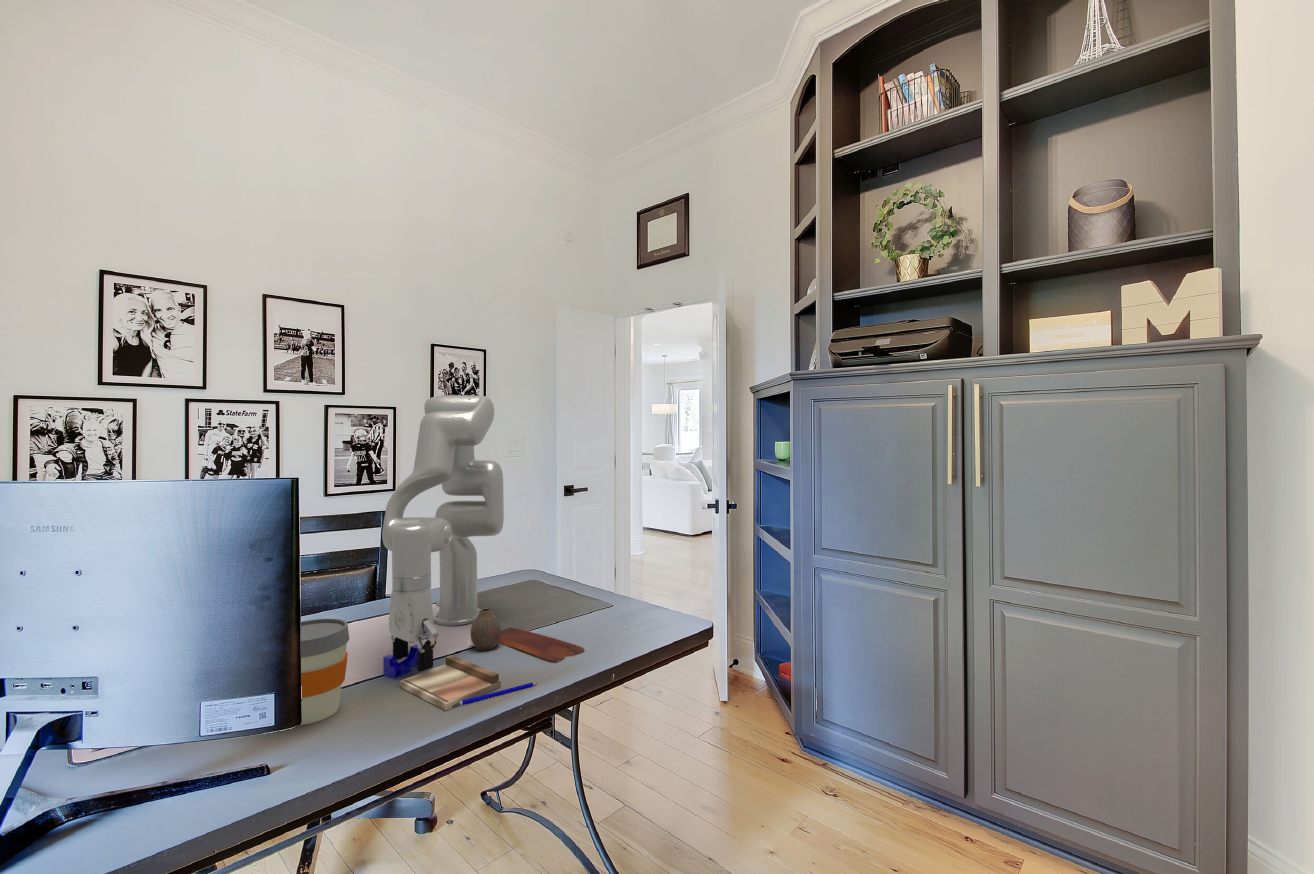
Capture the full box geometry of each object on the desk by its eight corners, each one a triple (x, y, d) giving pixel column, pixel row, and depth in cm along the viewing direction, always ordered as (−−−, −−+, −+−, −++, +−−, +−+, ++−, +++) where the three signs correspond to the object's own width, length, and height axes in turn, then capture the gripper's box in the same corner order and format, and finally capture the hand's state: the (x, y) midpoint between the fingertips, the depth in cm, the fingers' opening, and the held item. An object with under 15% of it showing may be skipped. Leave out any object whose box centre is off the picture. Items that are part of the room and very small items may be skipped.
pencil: (450, 710, 103) (449, 704, 103) (448, 708, 104) (448, 703, 104) (538, 686, 113) (538, 681, 113) (536, 685, 114) (536, 680, 114)
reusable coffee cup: (352, 717, 100) (351, 632, 100) (266, 738, 94) (265, 647, 93) (347, 690, 111) (346, 613, 111) (269, 707, 104) (268, 625, 104)
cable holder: (394, 679, 116) (394, 660, 116) (383, 676, 118) (383, 657, 118) (427, 665, 123) (427, 647, 123) (416, 662, 125) (416, 644, 125)
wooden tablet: (587, 652, 131) (587, 645, 131) (554, 667, 123) (554, 659, 123) (514, 628, 147) (514, 621, 147) (481, 639, 139) (481, 632, 139)
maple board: (399, 686, 112) (399, 673, 112) (454, 666, 122) (453, 653, 122) (445, 710, 103) (445, 695, 103) (500, 686, 112) (500, 673, 112)
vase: (507, 646, 133) (506, 609, 133) (480, 655, 128) (479, 616, 128) (491, 639, 138) (491, 603, 138) (465, 647, 133) (464, 609, 133)
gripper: (373, 580, 122) (374, 659, 122) (417, 593, 111) (418, 680, 111) (407, 573, 128) (408, 648, 128) (451, 585, 117) (452, 668, 117)
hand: (412, 663), depth 120 cm, fingers open, 9 cm apart
